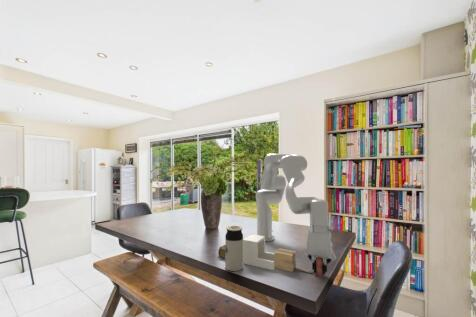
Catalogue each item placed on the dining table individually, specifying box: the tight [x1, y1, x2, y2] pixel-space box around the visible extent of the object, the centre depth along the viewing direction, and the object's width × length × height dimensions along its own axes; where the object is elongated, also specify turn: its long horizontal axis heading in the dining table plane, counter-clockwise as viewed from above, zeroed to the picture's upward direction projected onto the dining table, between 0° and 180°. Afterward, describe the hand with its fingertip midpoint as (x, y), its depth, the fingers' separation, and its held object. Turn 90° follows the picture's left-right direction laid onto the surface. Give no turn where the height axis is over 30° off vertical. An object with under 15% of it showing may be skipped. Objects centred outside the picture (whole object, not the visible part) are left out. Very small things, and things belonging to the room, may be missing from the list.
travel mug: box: [224, 225, 244, 272], centre depth 102 cm, size 8×8×18 cm
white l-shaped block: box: [243, 233, 275, 271], centre depth 108 cm, size 10×15×11 cm
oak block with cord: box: [274, 247, 324, 278], centre depth 100 cm, size 6×20×7 cm, turn 61°
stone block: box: [217, 244, 225, 259], centre depth 114 cm, size 6×12×5 cm, turn 51°
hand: (319, 272), depth 95 cm, fingers closed on oak block with cord, 3 cm apart
